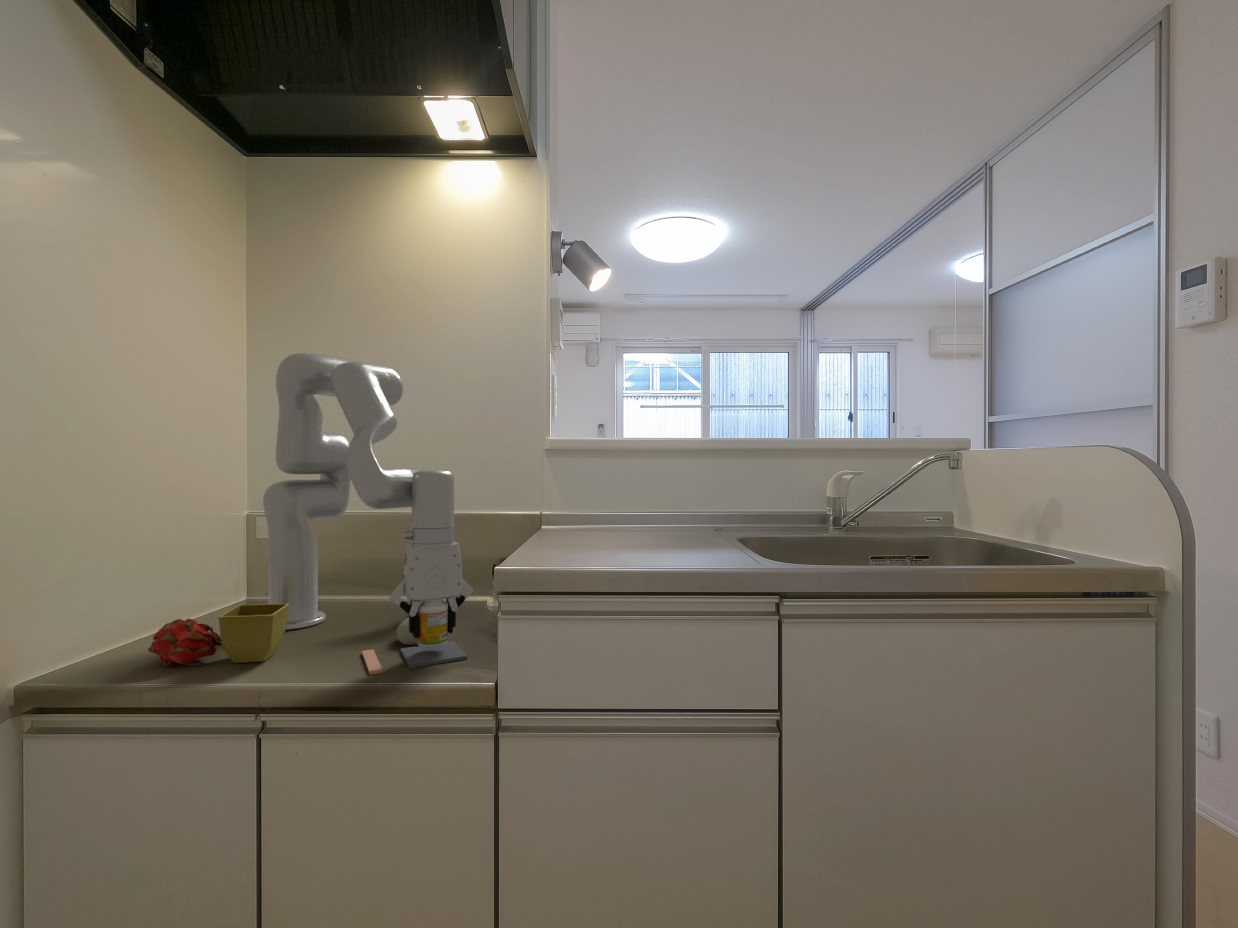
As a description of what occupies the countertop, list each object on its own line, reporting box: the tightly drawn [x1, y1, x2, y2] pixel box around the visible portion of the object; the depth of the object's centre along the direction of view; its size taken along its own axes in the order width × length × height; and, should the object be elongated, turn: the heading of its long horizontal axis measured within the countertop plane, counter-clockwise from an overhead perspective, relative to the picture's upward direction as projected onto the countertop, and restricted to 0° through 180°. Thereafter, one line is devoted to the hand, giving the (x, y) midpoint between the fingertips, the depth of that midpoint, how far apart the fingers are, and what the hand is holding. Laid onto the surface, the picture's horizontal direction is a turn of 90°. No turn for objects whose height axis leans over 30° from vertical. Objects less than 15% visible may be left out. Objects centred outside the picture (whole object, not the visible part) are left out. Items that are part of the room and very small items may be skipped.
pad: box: [399, 640, 468, 669], centre depth 109 cm, size 10×10×1 cm
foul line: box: [361, 648, 383, 675], centre depth 104 cm, size 12×2×1 cm, turn 29°
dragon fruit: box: [147, 618, 222, 667], centre depth 104 cm, size 8×8×12 cm
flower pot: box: [218, 603, 289, 664], centre depth 107 cm, size 9×9×9 cm
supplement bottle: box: [417, 599, 449, 648], centre depth 109 cm, size 5×5×10 cm
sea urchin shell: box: [396, 616, 419, 646], centre depth 118 cm, size 9×8×8 cm
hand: (432, 632), depth 109 cm, fingers closed on supplement bottle, 5 cm apart
